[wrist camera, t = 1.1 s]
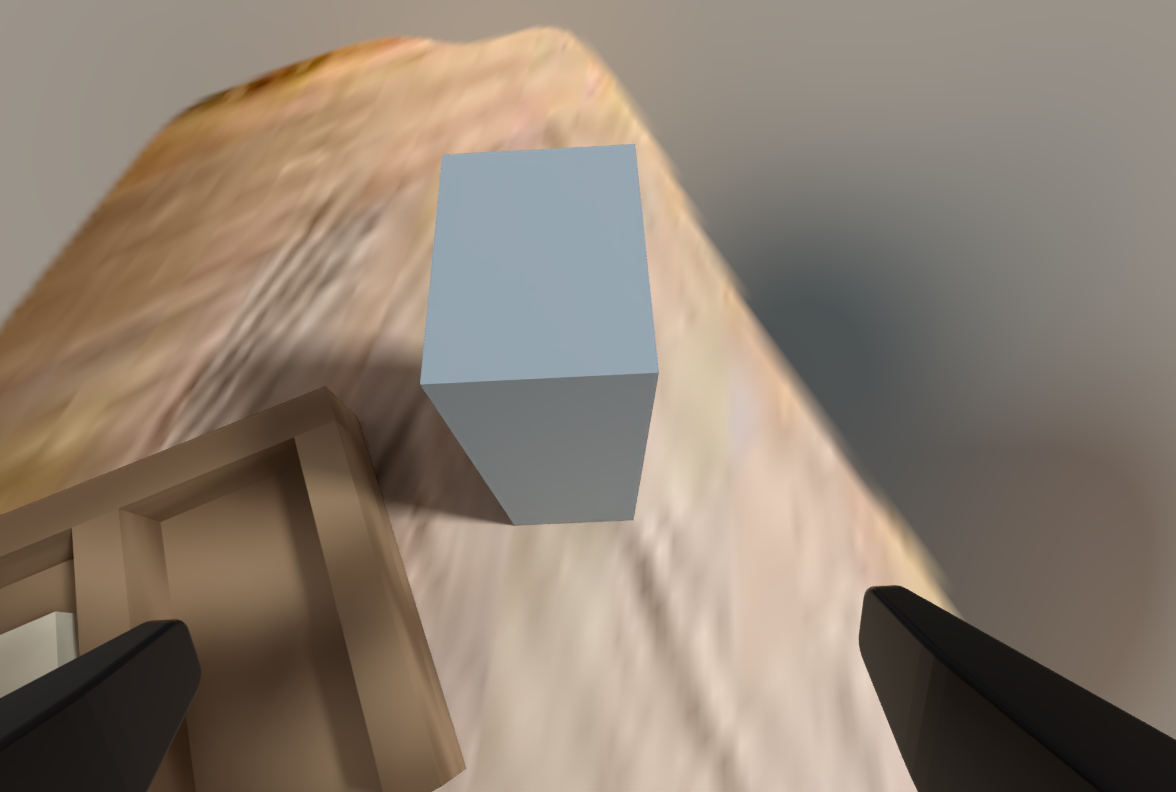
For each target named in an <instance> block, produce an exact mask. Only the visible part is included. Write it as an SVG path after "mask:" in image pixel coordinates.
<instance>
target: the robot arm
mask: <svg viewBox="0 0 1176 792" xmlns="http://www.w3.org/2000/svg"><path fill="white" fill-rule="evenodd" d="M859 647H860V652H861V655H862V658H863V661H864V663H865V666H866V668H867V671H868V673H869V676H870V678H871V681H872V683H873V686H874V688H875V691H876V693H877V696H878V698H879V701H880V703H881V706H882V708H883V710H884V713H885V715H886V718H887V720H888V723H889V725H890V728H891V730H892V733H893V735H894V738H895V740H896V743H897V745H898V748H899V750H900V753H901V755H902V758H903V760H904V762H905V765H906V767H907V769H908V772H909V774H910V776H911V778H912V780H913V783H914V785H915V787H916V789H917V791H918V792H1176V740H1175V739H1173V738H1172V737H1170V736H1168V735H1166V734H1164V733H1163V732H1161V731H1159V730H1157V729H1156V728H1154V727H1152V726H1150V725H1148V724H1147V723H1145V722H1143V721H1141V720H1140V719H1138V718H1136V717H1134V716H1132V715H1131V714H1129V713H1127V712H1125V711H1124V710H1122V709H1120V708H1118V707H1116V706H1115V705H1113V704H1111V703H1109V702H1107V701H1105V700H1104V699H1102V698H1100V697H1098V696H1097V695H1095V694H1093V693H1091V692H1090V691H1088V690H1086V689H1084V688H1082V687H1081V686H1079V685H1077V684H1075V683H1073V682H1072V681H1070V680H1068V679H1066V678H1064V677H1063V676H1061V675H1059V674H1058V673H1055V672H1054V671H1052V670H1050V669H1049V668H1047V667H1045V666H1043V665H1041V664H1039V663H1038V662H1036V661H1034V660H1033V659H1031V658H1029V657H1027V656H1025V655H1024V654H1022V653H1020V652H1018V651H1017V650H1015V649H1013V648H1011V647H1009V646H1008V645H1006V644H1004V643H1002V642H1000V641H999V640H997V639H995V638H993V637H992V636H990V635H988V634H986V633H984V632H982V631H981V630H979V629H977V628H975V627H974V626H972V625H970V624H968V623H967V622H965V621H963V620H961V619H959V618H958V617H956V616H954V615H952V614H951V613H949V612H947V611H945V610H943V609H942V608H940V607H938V606H936V605H935V604H933V603H931V602H929V601H927V600H926V599H924V598H922V597H920V596H918V595H917V594H915V593H913V592H911V591H910V590H908V589H906V588H904V587H902V586H897V585H892V586H873V587H870V588H868V589H867V590H866V592H865V595H864V599H863V607H862V615H861V622H860V630H859ZM201 678H202V666H201V663H200V660H199V657H198V654H197V651H196V648H195V645H194V643H193V640H192V637H191V634H190V631H189V628H188V626H187V625H186V624H185V623H184V622H183V621H182V620H178V619H167V620H151V621H147V622H144V623H142V624H140V625H138V626H136V627H134V628H132V629H130V630H129V631H127V632H125V633H123V634H121V635H119V636H117V637H115V638H113V639H111V640H110V641H108V642H106V643H104V644H102V645H100V646H98V647H96V648H94V649H92V650H91V651H89V652H87V653H85V654H83V655H81V656H79V657H77V658H75V659H73V660H71V661H70V662H68V663H66V664H64V665H62V666H60V667H58V668H56V669H54V670H52V671H51V672H49V673H47V674H45V675H43V676H41V677H39V678H37V679H35V680H33V681H32V682H30V683H28V684H26V685H24V686H22V687H20V688H18V689H16V690H14V691H13V692H11V693H9V694H7V695H5V696H3V697H1V698H0V792H148V790H149V788H150V786H151V784H152V782H153V780H154V778H155V776H156V774H157V772H158V770H159V768H160V766H161V763H162V761H163V759H164V757H165V755H166V753H167V751H168V749H169V747H170V745H171V743H172V741H173V739H174V737H175V735H176V733H177V731H178V729H179V727H180V725H181V723H182V721H183V719H184V717H185V715H186V713H187V711H188V709H189V707H190V705H191V703H192V701H193V698H194V696H195V694H196V692H197V690H198V688H199V686H200V682H201Z"/></svg>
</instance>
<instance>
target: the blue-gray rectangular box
mask: <svg viewBox="0 0 1176 792" xmlns="http://www.w3.org/2000/svg"><path fill="white" fill-rule="evenodd" d="M658 374H659V370H658V360H657V350H656V341H655V331H654V322H653V312H652V302H651V293H650V283H649V274H648V264H647V254H646V245H645V235H644V226H643V216H642V206H641V197H640V187H639V178H638V168H637V158H636V149H635V144H629V145H611V146H593V147H575V148H556V149H538V150H520V151H501V152H483V153H465V154H446V155H442V164H441V174H440V184H439V194H438V205H437V215H436V225H435V235H434V246H433V256H432V266H431V276H430V287H429V297H428V307H427V317H426V328H425V338H424V348H423V358H422V369H421V379H420V385H421V387H422V388H423V390H424V391H425V393H426V394H427V396H428V397H429V399H430V400H431V402H432V403H433V405H434V406H435V408H436V409H437V411H438V412H439V414H440V415H441V417H442V418H443V420H444V421H445V423H446V424H447V426H448V427H449V429H450V430H451V431H452V433H453V434H454V436H455V437H456V439H457V440H458V442H459V443H460V445H461V446H462V448H463V449H464V451H465V452H466V454H467V455H468V457H469V458H470V460H471V461H472V463H473V464H474V466H475V467H476V469H477V470H478V472H479V473H480V475H481V476H482V478H483V479H484V481H485V482H486V484H487V485H488V487H489V488H490V490H491V491H492V493H493V494H494V496H495V497H496V499H497V500H498V502H499V503H500V505H501V506H502V507H503V509H504V510H505V512H506V513H507V515H508V516H509V518H510V519H511V521H512V522H513V524H514V525H515V526H516V525H538V524H559V523H581V522H602V521H624V520H634V514H635V508H636V502H637V496H638V491H639V485H640V479H641V473H642V467H643V462H644V456H645V450H646V444H647V438H648V432H649V427H650V421H651V415H652V409H653V403H654V398H655V392H656V386H657V380H658Z"/></svg>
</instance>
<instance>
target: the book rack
mask: <svg viewBox="0 0 1176 792" xmlns="http://www.w3.org/2000/svg"><path fill="white" fill-rule="evenodd" d="M167 619H178V620H182V621H183V622H184V623H185V624H186V625H187V626H188V628H189V631H190V634H191V637H192V640H193V643H194V645H195V648H196V651H197V654H198V657H199V660H200V663H201V666H202V678H201V682H200V686H199V688H198V690H197V692H196V694H195V696H194V698H193V701H192V703H191V705H190V707H189V709H188V711H187V713H186V715H185V717H184V719H183V721H182V723H181V725H180V727H179V729H178V731H177V733H176V735H175V737H174V739H173V741H172V743H171V745H170V747H169V749H168V751H167V753H166V755H165V757H164V759H163V761H162V763H161V766H160V768H159V770H158V772H157V774H156V776H155V778H154V780H153V782H152V784H151V786H150V788H149V790H148V792H432V791H434V790H436V789H437V788H439V787H441V786H443V785H444V784H445V783H447V782H448V781H450V780H451V779H452V778H454V777H455V776H456V775H458V774H459V773H461V772H462V771H463V770H465V769H466V766H465V763H464V760H463V756H462V753H461V750H460V747H459V744H458V740H457V737H456V734H455V731H454V727H453V724H452V721H451V718H450V714H449V711H448V708H447V705H446V701H445V698H444V695H443V692H442V689H441V685H440V682H439V679H438V676H437V672H436V669H435V666H434V663H433V659H432V656H431V653H430V650H429V646H428V643H427V640H426V637H425V633H424V630H423V627H422V624H421V621H420V617H419V614H418V611H417V608H416V604H415V601H414V598H413V595H412V591H411V588H410V585H409V582H408V578H407V575H406V572H405V569H404V566H403V562H402V559H401V556H400V553H399V549H398V546H397V543H396V540H395V536H394V533H393V530H392V527H391V523H390V520H389V517H388V514H387V510H386V507H385V504H384V501H383V498H382V494H381V491H380V488H379V485H378V481H377V478H376V475H375V472H374V468H373V465H372V462H371V459H370V455H369V452H368V449H367V446H366V442H365V439H364V436H363V433H362V430H361V426H360V423H359V420H358V418H357V417H356V416H355V415H354V414H353V413H352V412H351V411H350V410H349V409H348V408H347V407H346V406H345V405H344V404H343V403H342V402H341V401H340V400H339V399H338V398H337V397H336V396H335V395H334V394H333V393H332V392H331V391H330V390H329V389H328V388H327V387H326V386H325V387H323V388H320V389H318V390H315V391H313V392H310V393H308V394H305V395H302V396H300V397H297V398H295V399H292V400H290V401H287V402H285V403H282V404H280V405H277V406H275V407H272V408H270V409H267V410H265V411H262V412H260V413H257V414H255V415H252V416H250V417H247V418H245V419H242V420H239V421H237V422H234V423H232V424H229V425H227V426H224V427H222V428H219V429H217V430H214V431H212V432H209V433H207V434H204V435H202V436H199V437H197V438H194V439H192V440H189V441H187V442H184V443H182V444H179V445H176V446H174V447H171V448H169V449H166V450H164V451H161V452H159V453H156V454H154V455H151V456H149V457H146V458H144V459H141V460H139V461H136V462H134V463H131V464H129V465H126V466H124V467H121V468H119V469H116V470H113V471H111V472H108V473H106V474H103V475H101V476H98V477H96V478H93V479H91V480H88V481H86V482H83V483H81V484H78V485H76V486H73V487H71V488H68V489H66V490H63V491H61V492H58V493H56V494H53V495H50V496H48V497H45V498H43V499H40V500H38V501H35V502H33V503H30V504H28V505H25V506H23V507H20V508H18V509H15V510H13V511H10V512H8V513H5V514H3V515H0V698H1V697H3V696H5V695H7V694H9V693H11V692H13V691H14V690H16V689H18V688H20V687H22V686H24V685H26V684H28V683H30V682H32V681H33V680H35V679H37V678H39V677H41V676H43V675H45V674H47V673H49V672H51V671H52V670H54V669H56V668H58V667H60V666H62V665H64V664H66V663H68V662H70V661H71V660H73V659H75V658H77V657H79V656H81V655H83V654H85V653H87V652H89V651H91V650H92V649H94V648H96V647H98V646H100V645H102V644H104V643H106V642H108V641H110V640H111V639H113V638H115V637H117V636H119V635H121V634H123V633H125V632H127V631H129V630H130V629H132V628H134V627H136V626H138V625H140V624H142V623H144V622H147V621H151V620H167Z"/></svg>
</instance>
